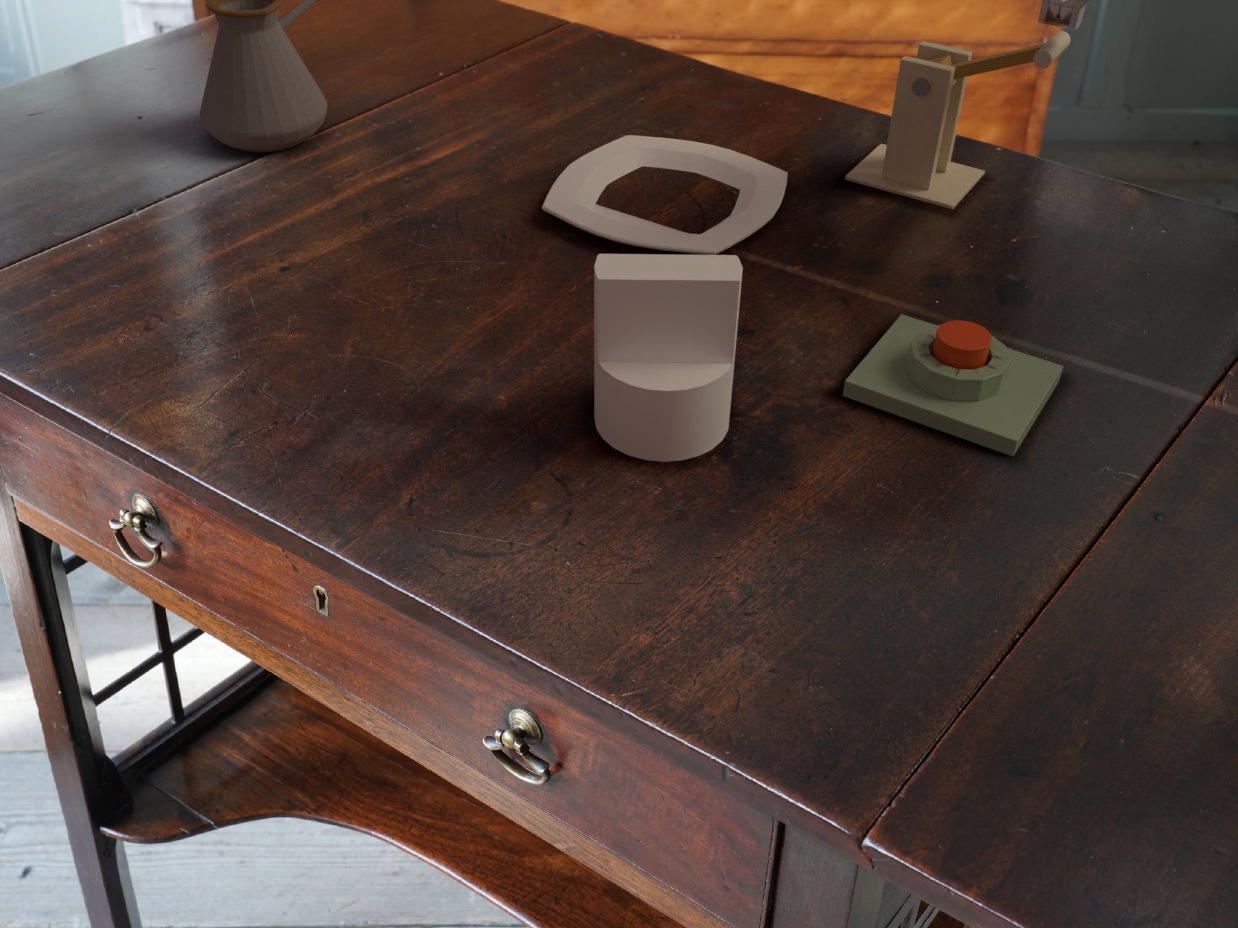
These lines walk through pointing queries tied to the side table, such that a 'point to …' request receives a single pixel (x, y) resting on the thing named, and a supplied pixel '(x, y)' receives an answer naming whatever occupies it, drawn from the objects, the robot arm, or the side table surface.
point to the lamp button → (962, 345)
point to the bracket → (922, 133)
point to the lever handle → (1011, 58)
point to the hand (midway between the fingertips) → (1058, 24)
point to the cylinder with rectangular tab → (664, 351)
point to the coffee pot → (259, 79)
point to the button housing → (954, 387)
